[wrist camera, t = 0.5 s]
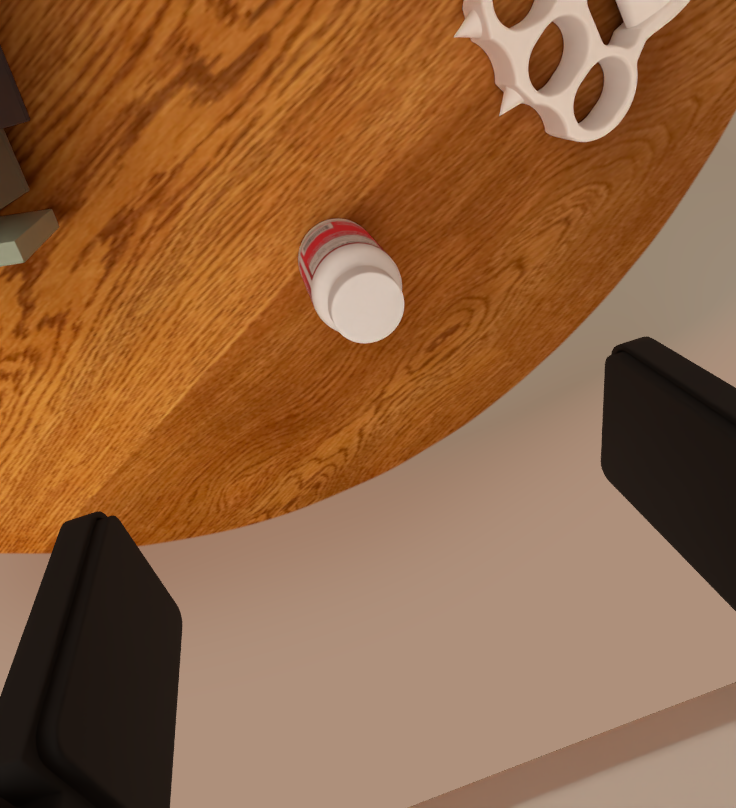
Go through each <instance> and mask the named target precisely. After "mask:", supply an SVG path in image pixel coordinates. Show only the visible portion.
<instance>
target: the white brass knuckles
mask: <svg viewBox="0 0 736 808" xmlns="http://www.w3.org/2000/svg"><path fill="white" fill-rule="evenodd" d="M689 1H690V0H616V3H617V5H618V8H619V11H620V13H621V16H622V18H623V21H624V22H623V23H622V24H621V25H620V26H619V27H618V28H617V29H616V30H615V31H614V32H613V34H612V37H611V39H610V42H609V44H608V45H604V44H603V42H602V40H601V37H600V35H599V33H598V30H597V28H596V25H595V23H594V21H593V18H592V16H591V13H590V11H589V8H588V5H587V0H534V3H533V5H532V7H531V9H530V11H529V13H528V14H527V16H526V17H525V18H524V19H523V20H522V21H521V22H519V23H518V24H516V25H514V26H512V27H510V28H507V27H505V26H504V25H503V24H502V23H501V22H500V21H499V20H498V18H497V16H496V14H495V11H494V8H493V1H492V0H464V1H463V7H462V9H463V13H464V16H465V20H464V22H463V23H462V25H461V26H460V28H459V29H458V31H457V32H456V34H455V35H454V37H470V38H471V41H472V42H474V43H476V44H477V45H479V46H480V47H481V48H482V49H483V50H484V51H485V52H486V54H487V55H488V57H489V59H490V61H491V63H492V66H493V69H494V74H495V84H496V85H497V86H498V87H499V88H500V89H501V90H502V91H503V92H504V94H503V99H502V104H501V109H500V114H499V116H501V115H502V114H504V113H506V112H507V111H509V110H511V109H512V108H514V107H516V106H517V105H519V104H521V103H523V104H527V105H529V106H531V107H532V108H534V109H535V110H536V111H537V112H538V114H539V115H540V117H541V119H542V121H543V124H544V127H545V132H546V133H548V134H549V135H551V136H554V137H558V138H563V139H568V140H572V141H577V142H589V141H593V140H596V139H599V138H601V137H603V136H605V135H606V134H608V133H609V132H610V131H612V130H613V129H614V128H615V127H616V126H617V125H618V124H619V123H620V121H621V120H622V119H623V117H624V116H625V114H626V113H627V111H628V109H629V107H630V105H631V103H632V101H633V98H634V95H635V91H636V86H637V61H638V58H639V56H640V53H641V51H642V49H643V46H644V44H645V42H646V40H647V39H648V38H649V37H650V36H651V35H652V34H654V33H655V32H656V31H657V30H659V29H660V28H662V27H663V26H664V25H665V24H667V23H668V22H669V21H670V20H672V19H673V18H674V17H675V16H676V15H677V14H678V13H679V12H680V11H681V10H682V9H683V8H684V7H685V6H686V5H687V4H688V2H689ZM552 21H553V22H554V23H555V24H556V25H557V26H558V27H559V28H560V30H561V33H562V36H563V42H564V49H563V55H562V58H561V61H560V64H559V66H558V67H557V69H556V71H555V72H554V74H553V75H552V77H551V78H550V80H549V81H548V82H547V84H546V85H545V86H544V87H543V88H541V89H540V90H538V91H537V90H536V89H535V88H534V87H533V86H532V84H531V81H530V78H529V73H528V64H529V58H530V54H531V52H532V49H533V47H534V45H535V44H536V42H537V40H538V39H539V37H540V36H541V34H542V33H543V31H544V29H545V28H546V27H547V26H548V25H549V24H550V23H551V22H552ZM597 62H599V64H600V65H601V67H602V69H603V73H604V86H603V90H602V93H601V96H600V98H599V100H598V102H597V103H596V105H595V106H594V107H593V109H592V110H591V112H590V113H589V115H588V116H587V117H586V118H585V119H584V120H583V121H581V122H580V123H578V122H577V121H576V119H575V116H574V110H573V105H574V98H575V95H576V92H577V89H578V87H579V85H580V84H581V82H582V81H583V79H584V78H585V76H586V75H587V73H588V72H589V71H590V69H591V68H592V67H593V66H594V65H595V64H596V63H597Z"/></svg>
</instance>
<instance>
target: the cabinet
mask: <svg viewBox="0 0 736 808" xmlns="http://www.w3.org/2000/svg"><path fill="white" fill-rule="evenodd" d="M27 121H30V117H29V115H28V113H27V110H26V108H25V105H24V103H23V100H22V98H21V95H20V93H19V90H18V88H17V85H16V83H15V80H14V78H13V75H12V73H11V70H10V68H9V65H8V63H7V61H6V58H5V56H4V53H3V51H2V48H1V46H0V129H3V128H7V127H10V126H14V125H17V124H20V123H24V122H27Z"/></svg>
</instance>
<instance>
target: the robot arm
mask: <svg viewBox="0 0 736 808" xmlns="http://www.w3.org/2000/svg"><path fill="white" fill-rule="evenodd" d="M604 380H605V381H604V402H603V426H602V449H601V466H602V470H603V472H604V474H605V476H606V478H607V479H608V480H609V482H611V484H613V486H614V487H615V488H616V489H617V490H618V491H619V492H620V493H621V494H622V495H623V496H624V497H625V498H626V499H627V500H628V501H629V502H630V503H631V504H632V505H633V506H634V507H635V508H636V509H637V510H638V511H639V512H640V513H641V514H642V515H643V516H644V517H645V518H646V519H647V520H648V522H650V524H651V525H652V526H653V527H654V528H655V529H656V530H657V531H658V532H659V533H660V534H661V535H662V536H663V537H664V538H665V539H666V540H667V541H668V542H669V543H670V544H671V545H672V546H673V547H674V548H675V549H676V550H677V551H678V552H679V553H680V554H681V555H682V557H683V558H684V559H685V560H687V562H688V563H689V564H690V565H691V566H692V567H693V568H694V569H695V570H696V571H697V572H698V573H699V574H700V575H701V576H702V577H703V578H704V579H705V580H706V581H707V582H708V583H709V584H710V585H711V586H712V587H713V588H714V589H715V590H716V591H717V592H718V593H719V595H720V596H721V597H722V598H723V599H724V600H725V601H726V602H727V603H728V604H729V605H730V606H731V607H732V608H733V609H734V610H735V611H736V388H735V387H733V386H731V385H730V384H728V383H726V382H725V381H723V380H721V379H720V378H718V377H716V376H714V375H713V374H711V373H710V372H708V371H706V370H705V369H703V368H701V367H700V366H698V365H696V364H694V363H693V362H691V361H689V360H688V359H686V358H684V357H683V356H681V355H679V354H678V353H676V352H674V351H673V350H671V349H669V348H668V347H666V346H664V345H663V344H661V343H659V342H657V341H656V340H654V339H652V338H650V337H642V338H638V339H635V340H632V341H629V342H626V343H623V344H620V345H617V346H616V347H614V349H613V351H612V354H611V355H610V356H609V357H607V359H606V362H605V379H604ZM181 637H182V618H181V613H180V611H179V608H178V606H177V604H176V603H175V601H174V600H173V599H172V597H171V596H170V594H169V593H168V591H167V590H166V588H165V587H164V585H163V584H162V583H161V581H160V579H159V578H158V576H157V575H156V573H155V572H154V571H153V569H152V567H151V566H150V565H149V563H148V562H147V560H146V559H145V557H144V556H143V554H142V553H141V551H140V550H139V548H138V547H137V545H136V544H135V542H134V541H133V539H132V538H131V536H130V535H129V533H128V532H127V531H126V529H125V528H124V526H123V525H122V523H121V522H120V520H119V519H118V518H117V517H116V516H109V517H107V516H106V515H105V514H104V513H102V512H94V513H91V514H88V515H85V516H82V517H79V518H76V519H73V520H69V521H67V522H65V523H64V524H63V525H62V527H61V529H60V531H59V534H58V537H57V540H56V543H55V545H54V548H53V551H52V554H51V557H50V559H49V562H48V565H47V568H46V571H45V573H44V577H43V579H42V582H41V585H40V588H39V590H38V593H37V596H36V599H35V601H34V604H33V607H32V610H31V613H30V616H29V618H28V621H27V624H26V626H25V629H24V632H23V635H22V637H21V640H20V643H19V646H18V649H17V652H16V654H15V657H14V660H13V663H12V665H11V668H10V671H9V674H8V677H7V679H6V682H5V685H4V688H3V691H2V694H1V696H0V808H170V796H171V782H172V767H173V754H174V753H173V752H174V739H175V725H176V710H177V696H178V682H179V667H180V652H181ZM409 808H736V682H735V683H732V684H730V685H727V686H724V687H722V688H719V689H717V690H714V691H711V692H709V693H706V694H704V695H701V696H698V697H696V698H693V699H690V700H687V701H685V702H682V703H679V704H677V705H675V706H672V707H669V708H666V709H664V710H661V711H658V712H656V713H653V714H650V715H648V716H645V717H643V718H640V719H637V720H635V721H632V722H630V723H627V724H624V725H622V726H619V727H616V728H614V729H611V730H609V731H606V732H603V733H601V734H598V735H595V736H593V737H590V738H588V739H585V740H582V741H580V742H578V743H575V744H572V745H569V746H567V747H564V748H562V749H559V750H556V751H554V752H551V753H549V754H546V755H544V756H541V757H538V758H536V759H533V760H531V761H528V762H525V763H523V764H520V765H517V766H515V767H512V768H510V769H507V770H504V771H502V772H499V773H497V774H494V775H491V776H489V777H486V778H484V779H481V780H479V781H476V782H473V783H471V784H468V785H466V786H463V787H460V788H458V789H455V790H453V791H450V792H447V793H445V794H442V795H440V796H437V797H434V798H432V799H429V800H427V801H424V802H421V803H419V804H416V805H414V806H411V807H409Z"/></svg>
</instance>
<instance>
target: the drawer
mask: <svg viewBox="0 0 736 808" xmlns="http://www.w3.org/2000/svg"><path fill="white" fill-rule="evenodd" d="M29 190H30V189H29V186H28V184H27V182H26V180H25V177H24V175H23V173H22V170H21V168H20V166H19V163H18V161H17V159H16V156H15V154H14V152H13V149H12V147H11V145H10V143H9V140H8V138H7V136H6V133H5V131H4V129H0V209H2V208H4V207H5V206H7V205H8V204H10V203H11V202H13V201H14V200H16V199H17V198H19V197H20V196H22V195H23V194H25V193H26V192H28V191H29ZM58 228H59V225H58V222H57V220H56V217H55V215H54V213H53V210H52V209H47V210H40V211H34V212H27V213H20V214H14V215H7V216H1V217H0V266H7V265H13V264H19V263H24V262H25V261H26V260H27V259H28V258H29V257H30V256H31V255H32V254H33V253H34V252H35V251H36V250H37V249H38V248H39V247H40V246H41V245H42V244H43V243H44V242H45V241H46V240H47V239H48V238H49V237H50V236H51V235H52V234H53V233H54V232H55V231H56V230H57V229H58Z"/></svg>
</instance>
